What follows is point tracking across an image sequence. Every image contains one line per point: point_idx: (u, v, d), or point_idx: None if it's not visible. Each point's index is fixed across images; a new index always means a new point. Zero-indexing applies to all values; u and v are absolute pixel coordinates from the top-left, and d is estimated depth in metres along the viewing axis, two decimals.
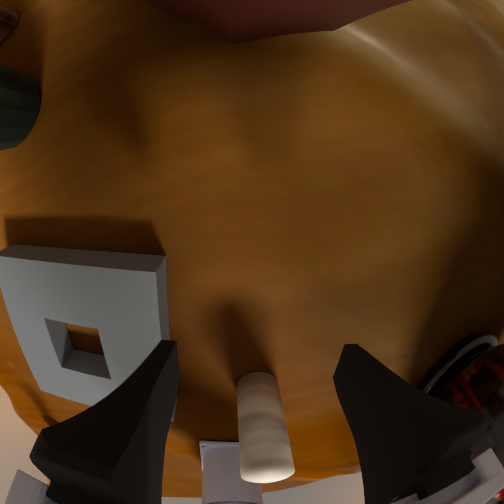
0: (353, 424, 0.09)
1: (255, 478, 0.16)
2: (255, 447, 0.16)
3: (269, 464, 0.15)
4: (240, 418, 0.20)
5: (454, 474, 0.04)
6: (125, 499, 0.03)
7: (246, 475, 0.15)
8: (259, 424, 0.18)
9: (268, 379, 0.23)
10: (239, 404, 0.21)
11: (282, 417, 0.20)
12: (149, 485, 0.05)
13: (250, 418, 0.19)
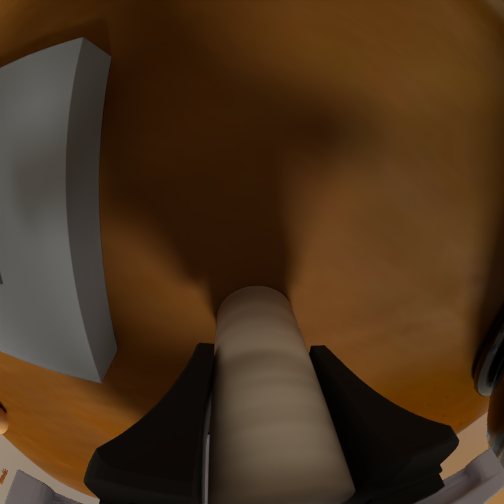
0: None
1: None
2: (248, 436, 0.06)
3: (291, 488, 0.04)
4: (216, 369, 0.09)
5: (419, 492, 0.04)
6: None
7: None
8: (259, 376, 0.08)
9: (276, 297, 0.13)
10: (217, 343, 0.11)
11: (311, 366, 0.09)
12: (201, 492, 0.05)
13: (238, 363, 0.09)
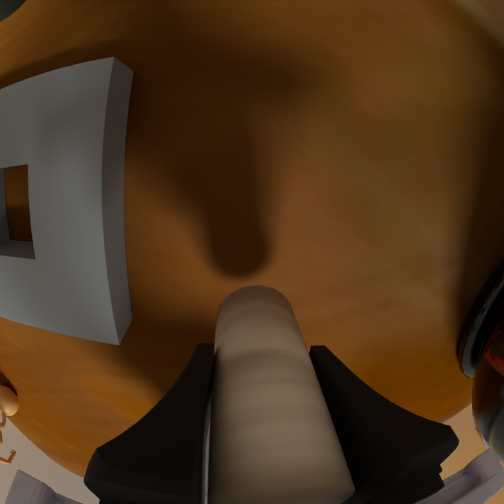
0: None
1: None
2: (248, 436, 0.06)
3: (290, 487, 0.04)
4: (216, 369, 0.09)
5: (419, 492, 0.04)
6: None
7: None
8: (259, 376, 0.08)
9: (276, 297, 0.13)
10: (217, 343, 0.11)
11: (311, 366, 0.09)
12: (201, 492, 0.05)
13: (238, 363, 0.09)
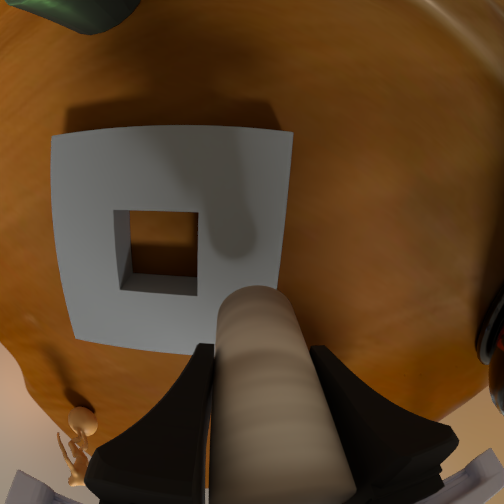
0: None
1: None
2: (248, 436, 0.06)
3: (291, 488, 0.04)
4: (216, 370, 0.09)
5: (419, 492, 0.04)
6: None
7: None
8: (259, 376, 0.08)
9: (276, 296, 0.13)
10: (217, 343, 0.11)
11: (312, 365, 0.09)
12: (201, 492, 0.05)
13: (238, 363, 0.09)
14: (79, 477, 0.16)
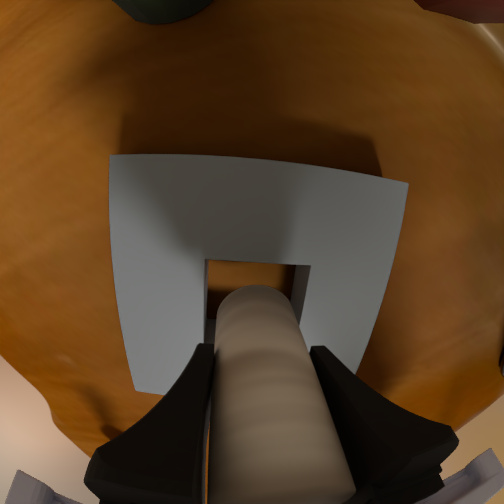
0: None
1: None
2: (247, 436, 0.06)
3: (290, 488, 0.04)
4: (215, 369, 0.09)
5: (419, 492, 0.04)
6: None
7: None
8: (258, 376, 0.08)
9: (276, 296, 0.13)
10: (216, 343, 0.11)
11: (311, 365, 0.09)
12: (202, 492, 0.05)
13: (237, 363, 0.09)
14: None
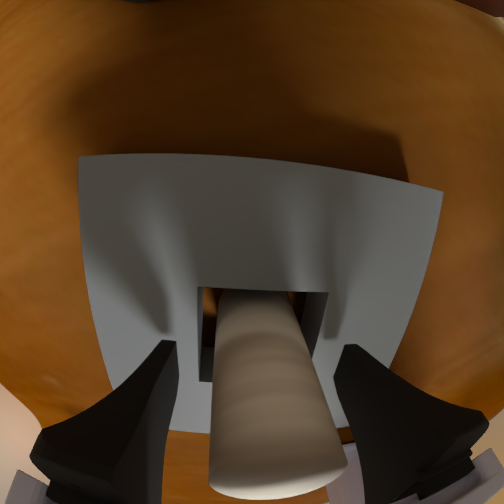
0: (353, 424, 0.09)
1: (248, 490, 0.06)
2: (245, 407, 0.07)
3: (284, 453, 0.05)
4: (217, 352, 0.10)
5: (454, 474, 0.04)
6: (125, 499, 0.03)
7: (223, 483, 0.06)
8: (256, 354, 0.09)
9: None
10: (218, 329, 0.12)
11: (306, 348, 0.10)
12: (149, 485, 0.05)
13: (237, 344, 0.10)
14: None
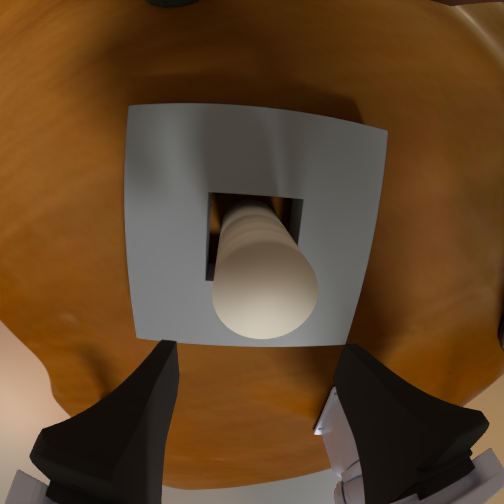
0: (353, 424, 0.09)
1: (242, 315, 0.10)
2: (241, 237, 0.11)
3: (266, 246, 0.10)
4: (221, 235, 0.15)
5: (454, 474, 0.04)
6: (125, 499, 0.03)
7: (223, 297, 0.10)
8: (249, 220, 0.13)
9: (264, 204, 0.18)
10: (222, 228, 0.16)
11: (286, 230, 0.15)
12: (149, 485, 0.05)
13: (236, 221, 0.14)
14: None
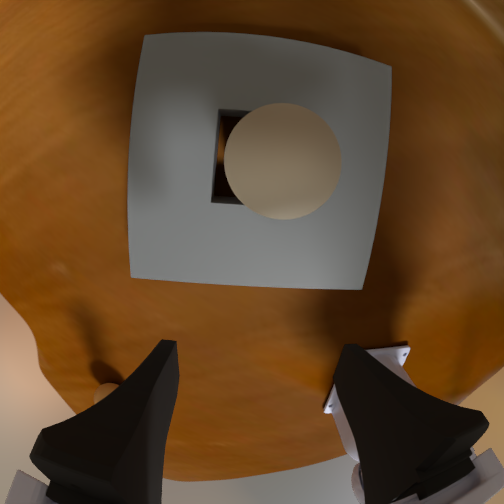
0: (353, 424, 0.09)
1: (257, 183, 0.09)
2: None
3: (284, 104, 0.08)
4: None
5: (454, 474, 0.04)
6: (125, 499, 0.03)
7: (236, 160, 0.09)
8: None
9: None
10: None
11: None
12: (149, 485, 0.05)
13: None
14: None
